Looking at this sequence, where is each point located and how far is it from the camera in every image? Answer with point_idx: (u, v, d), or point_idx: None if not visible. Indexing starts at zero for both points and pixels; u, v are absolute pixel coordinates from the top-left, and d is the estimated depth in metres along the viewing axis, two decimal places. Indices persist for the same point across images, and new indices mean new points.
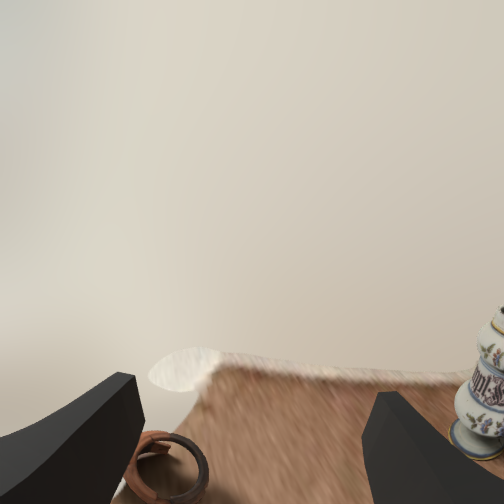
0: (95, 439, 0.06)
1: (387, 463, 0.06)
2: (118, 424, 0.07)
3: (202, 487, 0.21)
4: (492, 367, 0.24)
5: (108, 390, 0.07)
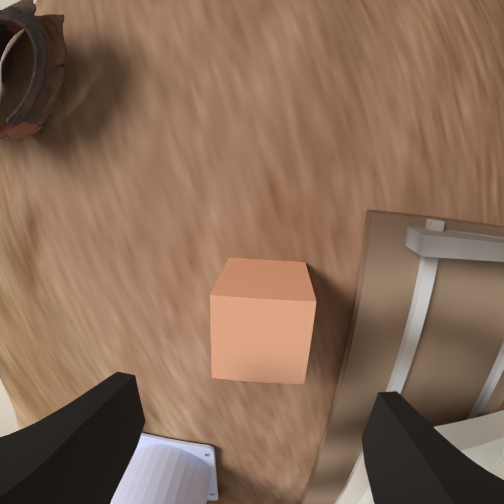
0: (95, 439, 0.06)
1: (386, 463, 0.06)
2: (118, 424, 0.07)
3: (42, 74, 0.11)
4: None
5: (108, 390, 0.07)
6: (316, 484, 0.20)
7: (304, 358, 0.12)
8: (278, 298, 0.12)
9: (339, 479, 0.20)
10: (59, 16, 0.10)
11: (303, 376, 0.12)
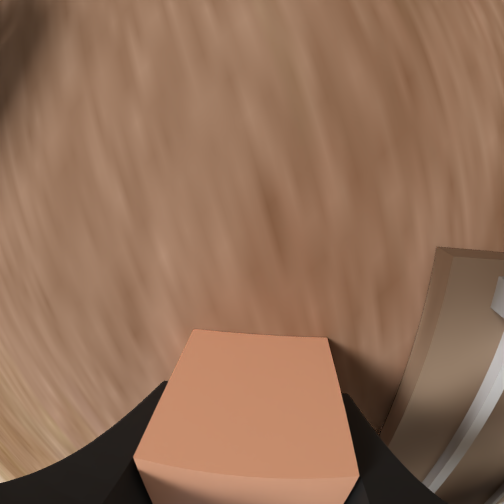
0: None
1: None
2: None
3: None
4: None
5: None
6: None
7: None
8: (277, 473, 0.04)
9: None
10: None
11: None
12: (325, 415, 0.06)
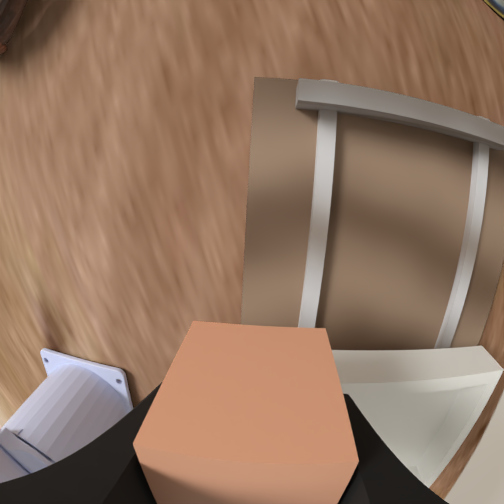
0: None
1: None
2: None
3: (7, 0, 0.09)
4: None
5: None
6: None
7: None
8: (277, 459, 0.04)
9: None
10: None
11: None
12: (324, 402, 0.06)
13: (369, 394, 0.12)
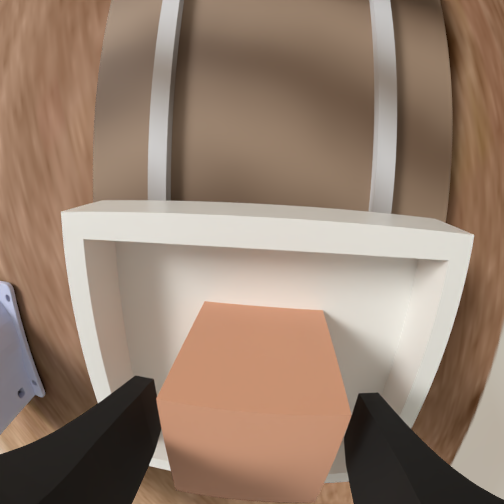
0: (117, 446, 0.06)
1: (365, 466, 0.06)
2: (138, 429, 0.07)
3: None
4: None
5: (128, 395, 0.07)
6: None
7: (320, 480, 0.06)
8: (282, 410, 0.06)
9: None
10: None
11: (315, 495, 0.06)
12: (321, 368, 0.07)
13: (189, 240, 0.08)
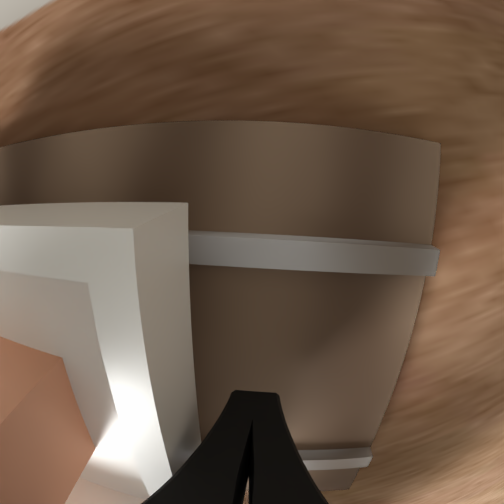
0: (243, 469, 0.06)
1: (250, 467, 0.06)
2: (250, 446, 0.07)
3: None
4: None
5: (243, 412, 0.07)
6: None
7: None
8: None
9: None
10: None
11: None
12: None
13: None
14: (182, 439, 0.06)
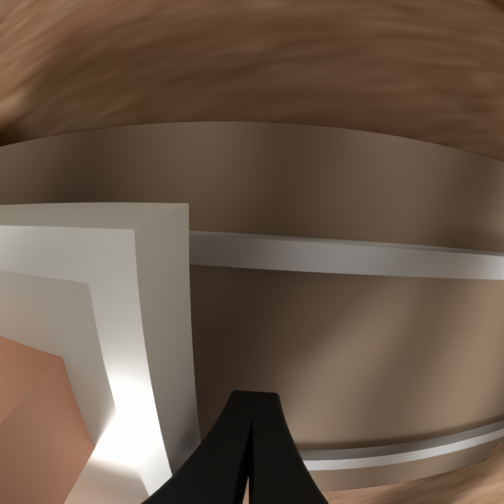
0: (242, 469, 0.06)
1: (250, 467, 0.06)
2: (250, 446, 0.07)
3: None
4: None
5: (243, 412, 0.07)
6: (378, 482, 0.12)
7: None
8: None
9: None
10: None
11: None
12: None
13: None
14: (182, 439, 0.06)
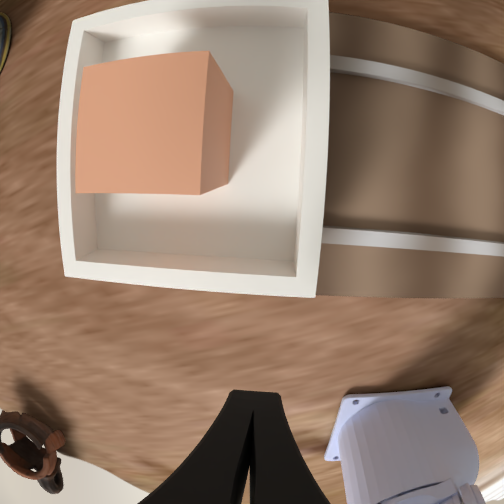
0: (241, 469, 0.06)
1: (252, 467, 0.06)
2: (248, 446, 0.07)
3: (18, 426, 0.20)
4: None
5: (241, 412, 0.07)
6: (432, 290, 0.17)
7: (160, 58, 0.07)
8: (80, 110, 0.08)
9: (429, 261, 0.16)
10: None
11: (194, 54, 0.07)
12: None
13: (68, 185, 0.11)
14: None
